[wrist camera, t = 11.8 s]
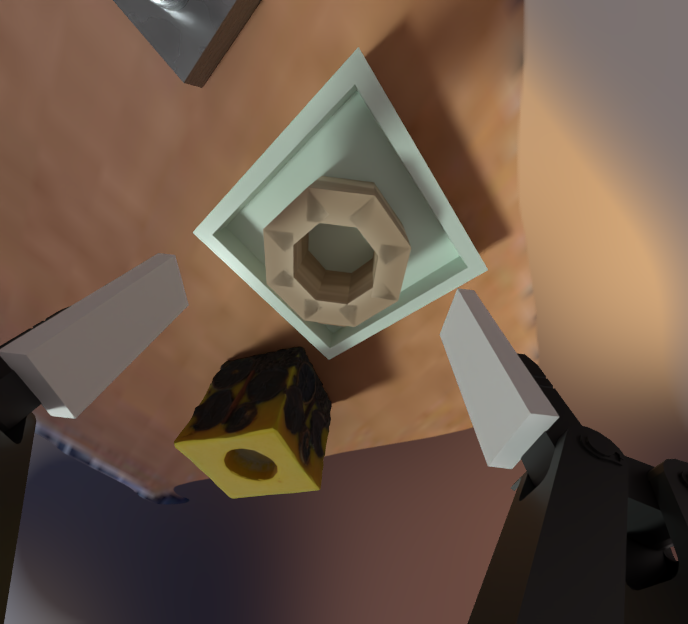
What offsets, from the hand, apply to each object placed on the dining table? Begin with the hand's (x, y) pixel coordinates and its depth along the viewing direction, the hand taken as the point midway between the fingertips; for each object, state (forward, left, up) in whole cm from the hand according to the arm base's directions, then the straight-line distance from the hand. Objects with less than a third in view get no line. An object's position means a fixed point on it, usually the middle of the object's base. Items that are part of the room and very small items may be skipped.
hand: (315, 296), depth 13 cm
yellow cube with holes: (+10, -17, -11) cm, 22 cm away
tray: (+1, 0, -10) cm, 10 cm away
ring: (+1, -1, -9) cm, 10 cm away
